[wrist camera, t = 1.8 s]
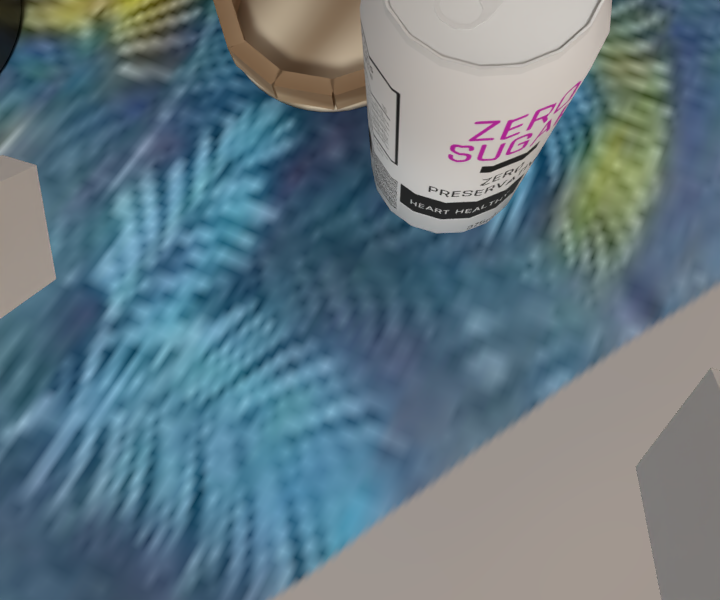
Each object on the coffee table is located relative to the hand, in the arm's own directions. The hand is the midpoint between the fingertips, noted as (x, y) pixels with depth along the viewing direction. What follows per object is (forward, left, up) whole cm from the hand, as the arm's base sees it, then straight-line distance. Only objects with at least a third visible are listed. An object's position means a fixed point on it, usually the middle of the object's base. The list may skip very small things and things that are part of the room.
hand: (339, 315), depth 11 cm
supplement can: (+2, +12, -19) cm, 23 cm away
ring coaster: (-7, +20, -19) cm, 29 cm away
